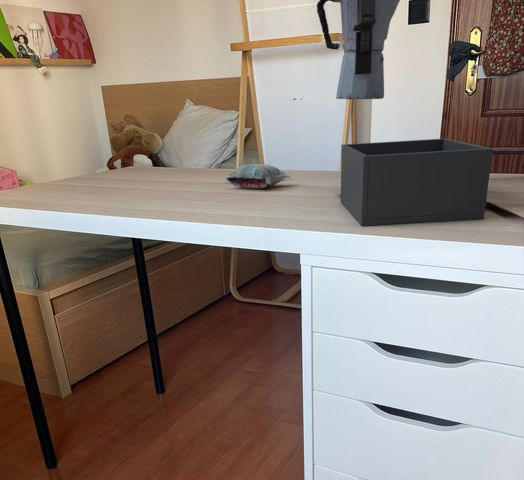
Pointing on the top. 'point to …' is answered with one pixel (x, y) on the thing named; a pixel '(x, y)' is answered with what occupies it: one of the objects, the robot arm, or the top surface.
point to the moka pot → (348, 81)
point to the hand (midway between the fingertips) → (358, 74)
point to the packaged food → (256, 176)
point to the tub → (414, 181)
